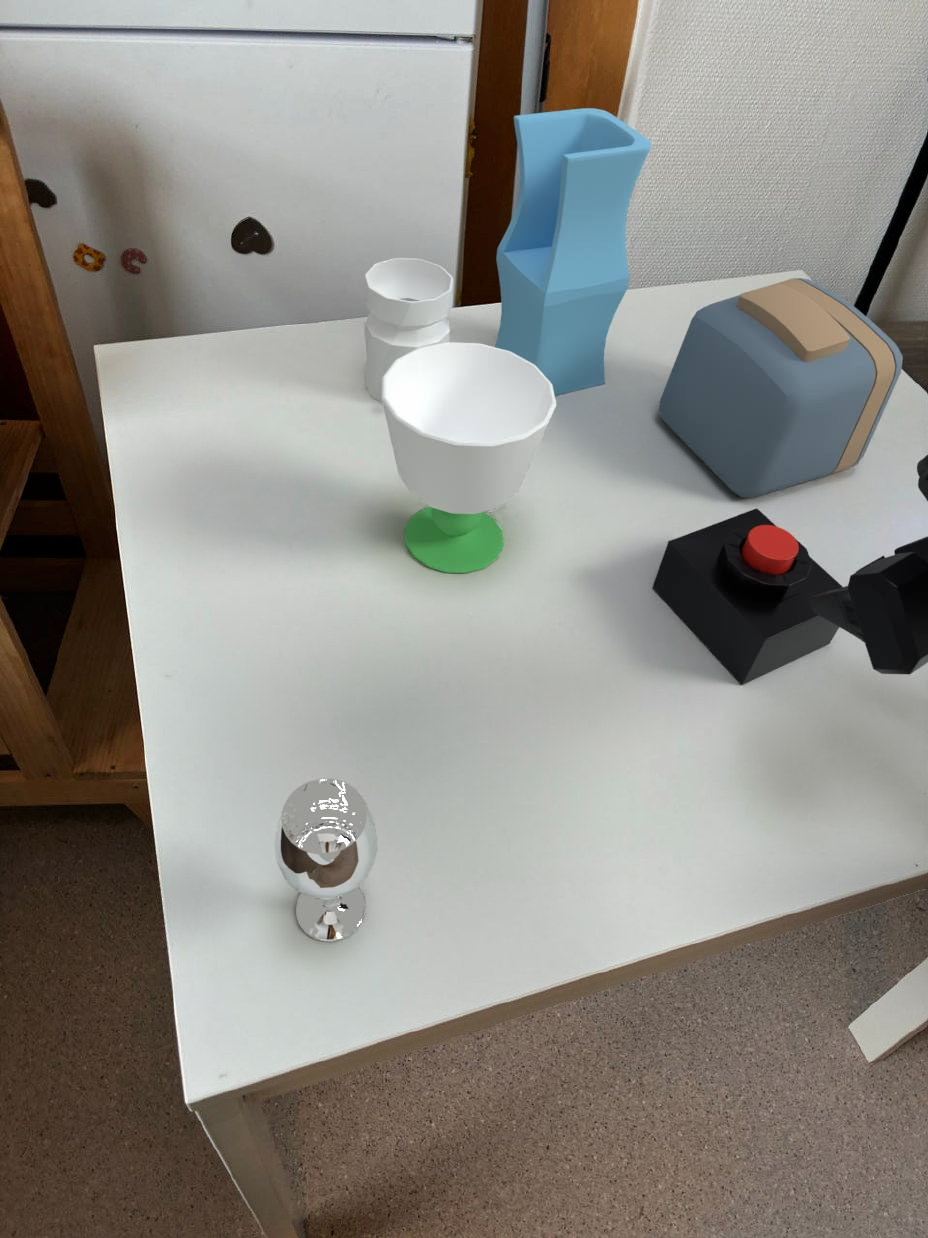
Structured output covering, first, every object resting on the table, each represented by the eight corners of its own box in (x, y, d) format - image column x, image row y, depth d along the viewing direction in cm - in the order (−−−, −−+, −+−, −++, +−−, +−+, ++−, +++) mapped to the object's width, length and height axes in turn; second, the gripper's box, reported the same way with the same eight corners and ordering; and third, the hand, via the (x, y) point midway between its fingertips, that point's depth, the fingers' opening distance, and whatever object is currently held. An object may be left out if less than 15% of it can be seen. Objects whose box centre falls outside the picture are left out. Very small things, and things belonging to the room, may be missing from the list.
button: (801, 565, 72) (809, 550, 71) (764, 581, 71) (772, 565, 70) (767, 534, 75) (774, 519, 73) (731, 549, 73) (737, 533, 72)
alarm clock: (864, 472, 93) (937, 334, 81) (739, 511, 87) (797, 369, 75) (764, 385, 102) (817, 250, 90) (646, 415, 96) (685, 274, 85)
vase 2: (485, 353, 102) (512, 115, 83) (559, 337, 105) (601, 105, 87) (528, 402, 96) (567, 158, 78) (605, 383, 100) (660, 146, 81)
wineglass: (302, 967, 55) (289, 880, 46) (273, 885, 59) (257, 790, 50) (389, 930, 57) (393, 841, 48) (357, 853, 61) (355, 756, 52)
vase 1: (386, 416, 93) (388, 310, 84) (351, 371, 97) (349, 266, 88) (460, 397, 96) (470, 292, 87) (422, 354, 101) (428, 251, 92)
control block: (829, 644, 77) (866, 583, 71) (741, 685, 73) (772, 625, 67) (737, 554, 83) (763, 491, 78) (651, 587, 79) (673, 525, 74)
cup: (365, 496, 84) (365, 346, 72) (505, 481, 87) (527, 335, 76) (395, 603, 76) (400, 453, 64) (548, 582, 79) (581, 436, 67)
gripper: (1147, 366, 51) (904, 428, 65) (955, 469, 43) (725, 515, 57) (1195, 549, 53) (948, 572, 67) (1018, 681, 45) (779, 675, 59)
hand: (856, 579), depth 62 cm, fingers open, 9 cm apart
